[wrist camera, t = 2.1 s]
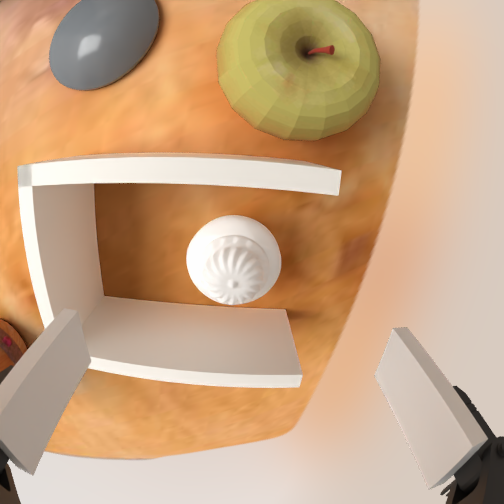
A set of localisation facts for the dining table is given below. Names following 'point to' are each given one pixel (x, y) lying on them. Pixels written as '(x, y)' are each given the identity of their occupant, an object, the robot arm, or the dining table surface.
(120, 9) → the coaster
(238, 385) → the cubby
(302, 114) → the apple
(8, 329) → the mug
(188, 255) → the white rounded ribbed piece
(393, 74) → the dining table surface
